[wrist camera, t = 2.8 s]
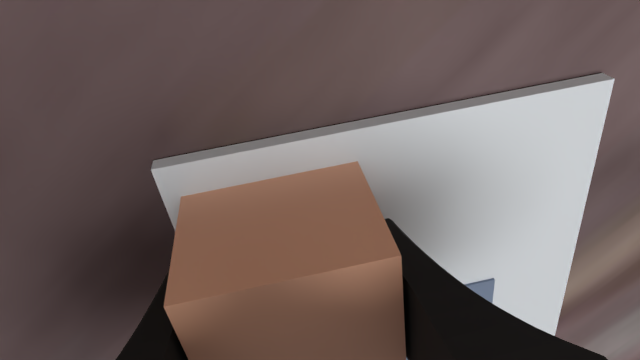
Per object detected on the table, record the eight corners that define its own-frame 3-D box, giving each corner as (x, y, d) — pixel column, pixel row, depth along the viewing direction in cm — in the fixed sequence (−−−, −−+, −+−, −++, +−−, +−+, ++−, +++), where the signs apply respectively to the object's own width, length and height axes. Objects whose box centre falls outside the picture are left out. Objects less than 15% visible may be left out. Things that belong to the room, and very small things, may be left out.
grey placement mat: (282, 493, 24) (283, 506, 23) (153, 160, 13) (150, 171, 12) (524, 433, 24) (530, 445, 24) (602, 72, 13) (616, 79, 13)
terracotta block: (225, 316, 15) (223, 435, 12) (180, 196, 13) (163, 307, 9) (370, 285, 16) (407, 391, 12) (357, 161, 13) (401, 255, 10)
